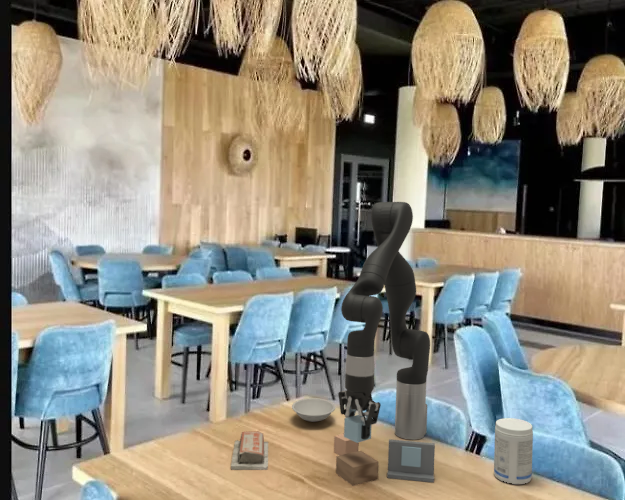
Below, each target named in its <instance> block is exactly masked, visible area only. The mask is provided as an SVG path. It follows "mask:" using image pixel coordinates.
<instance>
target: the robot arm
mask: <svg viewBox="0 0 625 500" xmlns="http://www.w3.org/2000/svg"><path fill="white" fill-rule="evenodd" d="M370 214H371V215H370V219H371V226H372V229H373V230H372V231H373V234H374V238H375V241H376V245H377V247H376V248H375V249H373V251H372V252H371V253H370V254H369V255H368V256H367V258H366V259H365V261H364V263H363V265H362V267H361V271H360V273H359V276H358V279H357V280H356V282H354V284H353V286H352V287H351V288H350V289H349V291H348V292H347V294H346V295H345V296H344V297H343V300H342V303H341V307H340V310H341V314H342V317H343V318H344V319H345V320H347V321H349V322H355V323H364V324H365V325H364V328H363V329H360V330H353V331H350V332H348V334H347V339H346V342H347V344H346V345H347V346H346V357H345V358H346V359H345V371H344V372H345V373H344V374H345V376H344V388H345V390H341V391H338V393H337V395H338V400H339V401H338V403H339V411H340V415H344V419H345V418H347V417H351V416H355V415H356V412H357V413H358V414H357V415H359V416H360V417H361V422H362V431H361V438H362V439H363V440H365V439H368V438H369V436H370V425H371V426H373V425H375V424H377V423H378V419H379V415H380V411H381V410H380V409H381V402H376V401H374V400H373V397H372V392H373V391H374V389H375V364H376V363H375V339H376V335H377V332H378V328H379V327H378V326H379V324H380V321H381V318H382V315H383V312H384V311H383V310H384V309H383V308H384V307H383V303H382V301H381V299H380V298H379V297H377V296H376V295H379V294H380V293H381V292H383V289H385V290H384V291H385V295H386V300H387V304H388V305H387V306H388V313H389V321H390V322H389V323H390V336H391V346H392V351H393V353H394V355H395V356H397V357H398V358H401V359H408V360H412V365H411V366H409V367H403V368H401V369H398V370H397V372H396V388H395V389H396V390H395V391H396V392H395V414H394V415H395V418H394V419H395V420H394V435H395V436H396V437H399V438H401V439H405V440H410V441H413V440H420V439H423V438H424V437H425V435H427V432H428V431H427V427H428V425H427V423H428V404H427V403H426V401H427V400H426V398H427V376H428V373H429V372H428V371H429V364H430V363H429V362H430V361H429V360H430V353H431V352H430V350H431V339H430V335H429V333H428V332H426V331H424V330H419V329H412V328H408V327H407V323H406V321H407V320H406V316H407V313H408V311H409V309H410V308H411V306H412V304H413V302H414V300H415V299H416V296H417V295H416V294H417V284H416V279H415V278H416V277H415V273H414V270H413V267H411V264H410V263H409V261H407V260H406V258H405V257H404V256H403V255H402V253H401V252H400V249H401V247H402V246H403V244H404V242H405V240H406V239H407V236H408V234H409V232H410V230H411V227H412V225H413V220H414V215H413V214H414V213H413V209H412V207H411V205H410V204H409V203H408V202H405V201H381V202H380V201H379V202H376V203H374V204H373V206H372V208H371V213H370ZM365 417H366V418H367V420H366V419H365ZM368 440H369V439H368ZM365 441H366V440H365Z"/></svg>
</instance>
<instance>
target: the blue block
mask: <svg viewBox="0 0 625 500" xmlns="http://www.w3.org/2000/svg"><path fill="white" fill-rule="evenodd" d="M365 419H366V420H367V418H366V416H365ZM343 423H344V427H343V430H344V431H343V433H344V437H345V438H347V439H350V440H352V441H354V442H356V443H358V442H359V443H360V442H365V441H368V440H371V439H372V425H370V436H369V438H368V439H365V440H363V439H362V438H361V431H362V422H361V417H360V416H359V414H355V416H351V417H347V418H345V417H344V422H343Z"/></svg>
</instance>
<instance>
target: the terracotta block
mask: <svg viewBox="0 0 625 500" xmlns="http://www.w3.org/2000/svg"><path fill="white" fill-rule="evenodd" d="M333 439H334V440H333V453H334V454H336V455H337V456H339V455H343V454H348V453H353V452H357V451H359V446H360V445H359V444H360V442H358V443H356V442H354V441H352V440H350V439H347V438H345V437H344V432H343V433H339V434H336V435H334V436H333Z"/></svg>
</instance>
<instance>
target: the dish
mask: <svg viewBox="0 0 625 500" xmlns="http://www.w3.org/2000/svg"><path fill="white" fill-rule="evenodd" d="M291 409H292V411H294V412H295V413H296V415H297V416H298V417H300V418H301V419H302V420H304V421H307V422H313V423H314V422H315V423H316V422H320V421H324V420H325V419H327V418H328V417H330V415H331V414H332V413H334V411H335V410H336V405H335V403H334V402H333V401H331V400H328V399H324V398H319V397H309V398H302V399H298V400H296V401H294V402H293V404H291Z"/></svg>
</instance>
